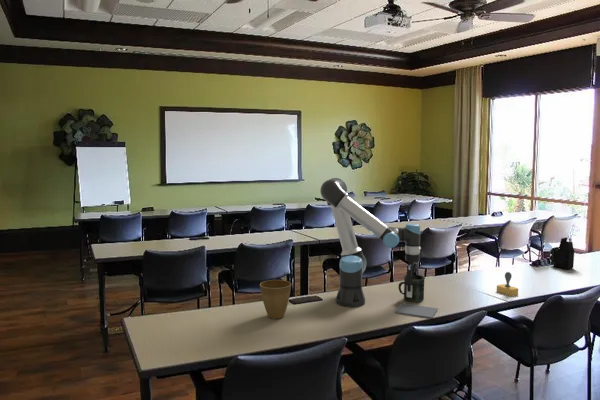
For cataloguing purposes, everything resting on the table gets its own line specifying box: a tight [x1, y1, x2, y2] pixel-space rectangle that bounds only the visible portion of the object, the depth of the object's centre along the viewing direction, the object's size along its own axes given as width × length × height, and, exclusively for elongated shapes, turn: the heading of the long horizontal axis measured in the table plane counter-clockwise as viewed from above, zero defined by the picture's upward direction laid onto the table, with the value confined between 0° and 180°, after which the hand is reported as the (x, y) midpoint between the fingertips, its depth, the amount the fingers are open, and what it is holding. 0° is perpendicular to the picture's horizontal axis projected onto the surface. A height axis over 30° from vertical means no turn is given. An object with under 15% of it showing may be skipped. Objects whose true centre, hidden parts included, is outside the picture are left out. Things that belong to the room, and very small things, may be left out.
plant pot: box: [259, 279, 292, 320], centre depth 239 cm, size 15×15×16 cm
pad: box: [394, 302, 439, 320], centre depth 247 cm, size 18×14×1 cm
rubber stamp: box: [496, 271, 519, 297], centre depth 276 cm, size 10×6×12 cm, turn 28°
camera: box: [549, 237, 575, 271], centre depth 332 cm, size 10×14×20 cm
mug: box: [398, 274, 426, 303], centre depth 265 cm, size 11×15×12 cm
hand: (411, 294), depth 266 cm, fingers closed on mug, 11 cm apart
